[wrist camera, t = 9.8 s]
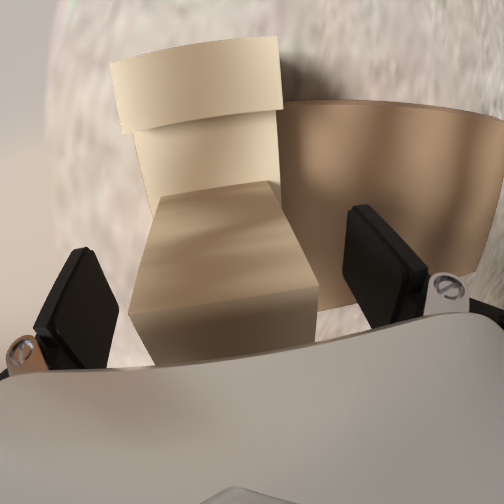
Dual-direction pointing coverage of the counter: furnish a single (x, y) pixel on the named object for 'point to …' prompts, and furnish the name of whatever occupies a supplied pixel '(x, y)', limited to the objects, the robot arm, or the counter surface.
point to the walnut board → (388, 181)
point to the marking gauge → (213, 204)
